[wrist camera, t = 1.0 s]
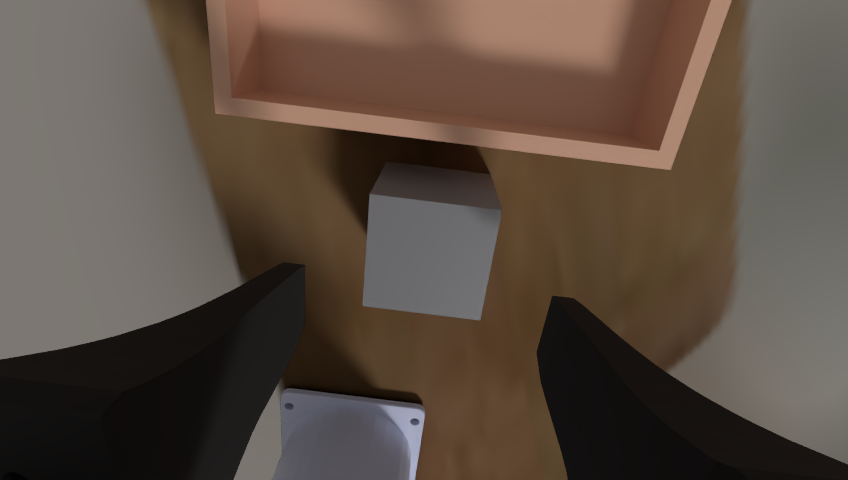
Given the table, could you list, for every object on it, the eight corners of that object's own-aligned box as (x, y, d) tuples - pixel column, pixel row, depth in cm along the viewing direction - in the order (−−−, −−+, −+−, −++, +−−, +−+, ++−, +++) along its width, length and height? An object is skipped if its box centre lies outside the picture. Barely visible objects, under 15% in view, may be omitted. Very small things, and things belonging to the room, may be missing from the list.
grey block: (473, 265, 21) (479, 320, 16) (379, 253, 21) (362, 305, 16) (490, 173, 19) (502, 210, 15) (386, 160, 19) (369, 194, 15)
